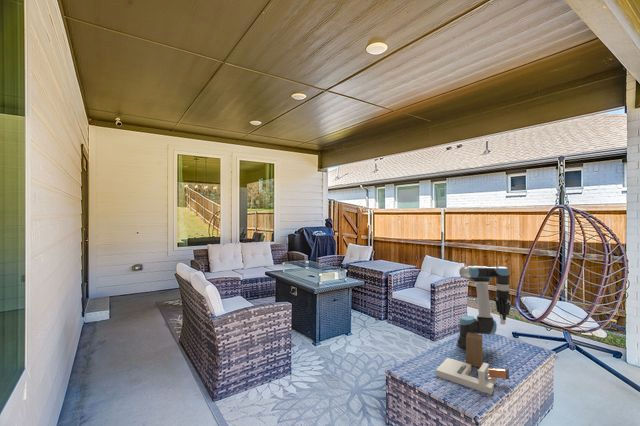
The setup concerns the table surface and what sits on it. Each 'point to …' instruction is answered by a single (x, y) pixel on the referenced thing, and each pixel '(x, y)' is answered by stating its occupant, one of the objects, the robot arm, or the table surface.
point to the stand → (465, 375)
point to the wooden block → (474, 349)
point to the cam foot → (495, 375)
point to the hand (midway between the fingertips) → (502, 323)
